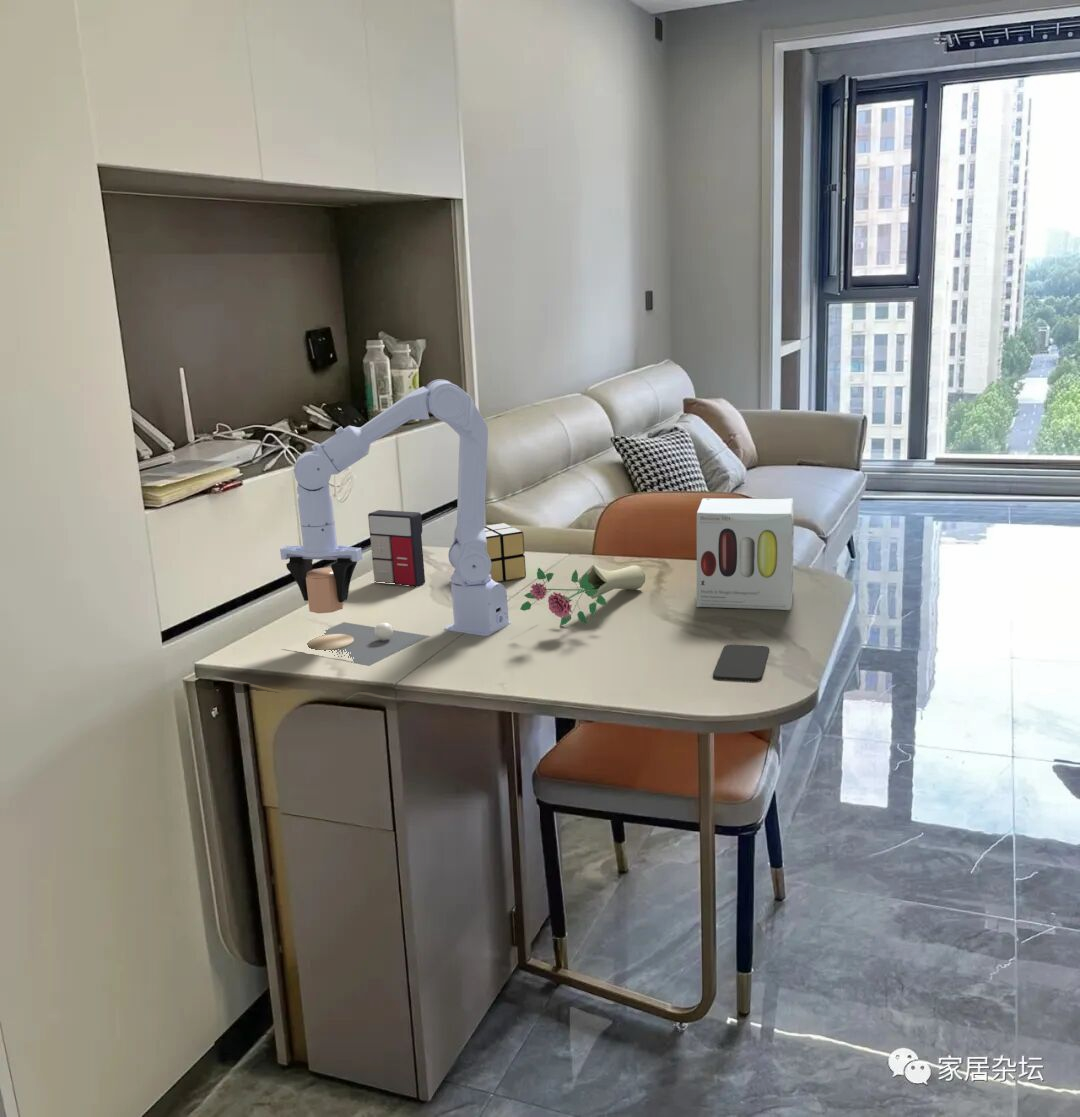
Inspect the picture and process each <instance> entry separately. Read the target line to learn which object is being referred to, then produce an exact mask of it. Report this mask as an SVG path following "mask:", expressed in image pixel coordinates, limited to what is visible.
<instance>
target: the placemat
mask: <svg viewBox="0 0 1080 1117" xmlns="http://www.w3.org/2000/svg"><path fill="white" fill-rule="evenodd" d="M375 627H376V626H371V625H370V626H369V625H365V624H358V623H351V622H344V621H343V622H341V623H338V624H336V625H334V626H331V627H330V628H327V629H328V630H327V629H325V631H326V633H324V634H325V635H329V634H346V635H350V636H352V637H353V638H354V642H353V643H352V644H351V645H349V646H347V647H344V648H341V649H339V650H338V649H336V650H337V652H339V651H340V650H341V652H342V654H343V650H344V652H346V651H347V653H348V652H349V656H350V658H351V657H352V659H353V657H354V659H353V661H354V663H353V664H357V663H358V664H359V665H363V666H368V667H370V666H372V665H374V664H376V663H377V662H381V661H382V660H384V659H386V658H388V657H390V656H392V655H395V654H396V653H399V652H400V651H402V650H404V649H406V648H408V647H411V646H413V645H415V644H417V643H419V642H421V641H423V640H425V639H427V638H428V637H430V635H427V634H419V633H413V632H406V631H400V630H395V629H393V635H392V637H391V638H390V639H388V640H386V641H382V640H379V639H378V638H377V637H376V636H375ZM322 636H323V635H322ZM345 649H346V651H345ZM331 651H332V650H331ZM334 651H335V650H334ZM329 652H330V651H329ZM337 652H336V653H337ZM350 652H351V654H350ZM332 653H333V651H332ZM347 653H346V654H347ZM339 654H340V652H339ZM337 655H338V654H337ZM334 656H335V655H334ZM344 656H345V655H344ZM349 656H348V658H349ZM338 657H339V656H338ZM341 657H342V656H341Z"/></svg>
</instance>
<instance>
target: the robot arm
mask: <svg viewBox="0 0 1080 1117" xmlns="http://www.w3.org/2000/svg"><path fill="white" fill-rule="evenodd" d="M477 407H478V406H477V405H475V403H474V401H473V399H472V396H471V395H470V394H468V393H467V392H466V391H464V389H462V388H461V387H460V386H458V385H456V384H454V383H452V382H451V381H449V380H446V379H441V378H439V379H434V380H432V381H430V382H429V383H427V385H426V386H424V385H423V386H421V387H418V388H416V389H415V390H413V391H411V392H409V393H408V394H406V395H404V396H402V397H401V398H400V399H399V400H397V401H395V402H394V403H393V404H392V405H390V406H389V407H387V408H386V409H385V410H383V411H381V412H380V413H379V414H377V415H376V416H375V417H373V418H372V419H370V420H369V421H367V422H366V423H364V424H363V425H362V426H360V427H359V426H358V427H357V426H353V425H348V426H346V427H344V428H343V426H339V427H338V428H336V429H335V430H334V432H335V434H334V435H332V436H330V437H329V438H328V439H326V440H324V441H323V442H321V443H320V444H317V443H314V444H313V445H311V449H312V451H306V452H303V453H302V454H300V455H299V456H298V457H297V458H296V461H295V462H294V468H293V474H294V477H295V479H296V481H297V487H296V490H297V492H296V493H297V495H298V497H297V506H298V514H299V524H300V532H301V541H302V545H285V546H282V547H281V548H280V549H279V551H280V558H281V559H280V560H284V561H285V560H288V559H289V561H288V562H287V563H286V566H285V567H286V569H287V570H288V571H289V573H291V575H292V577H293V578H294V580H295V582H296V584H297V586H298V587H299V590H300V592H301V595H302V598H303V601H305V602H308V594H307V585H306V573H307V572H308V571H311V570H313V561H314V560H321V561H322V560H323V561H324V560H325V561H326V560H327V561H335V562H334V563H332V564H330V568H332V571H333V573H334V577H335V581H336V586H337V596H338V600H339V602H344V603H345V601H348V600H349V590H350V584H351V580H352V576H353V573H354V571H355V569H356V566H357V564H358V562H360V561H361V560H362V559H363V553H362V552H363V551H362V550H363V549H362V547H354V546H353V547H352V546H347V545H340V544H338V540H337V539H338V538H337V531H336V530H337V529H336V523H335V522H336V521H335V513H334V503H333V495H332V494H331V490H330V489H331V488H330V481H331V476H332V475H338V474H341V473H342V472H343V471H345V470H346V469H348V468H349V467H351V466H352V465H354V464H356V463H357V462H359V461H360V460H362V459H363V458H365V457H366V456H367V455H369V453H370V447H371V444H372V443H374V442H376V441H377V440H379V439H381V438H382V437H384V436H385V435H387V434H389V433H391V432H392V431H394V430H396V429H398V428H399V427H401V426H402V425H404V424H406V423H407V422H409V421H411V420H430V416H429V413H430V414H432V416H434V417H435V418H436V419H437V420H439V421H441V422H443V423H445V424H447V425H448V426H449V427H450V428H451V430H453V431H454V432H455V433H456V434H457V435H458V436H459V444H458V446H459V447H458V450H459V451H458V478H457V480H458V483H457V505H456V506H457V507H456V525H455V526H456V527H455V529H454V537H453V541H452V544H451V545H450V547H449V550H448V561H449V563H450V565H451V566H452V567H453V568H454V571H453V574H452V576H450V586H451V587H450V588H451V598H452V599H451V601H452V614H453V623H451V624H449V625H447V626H444V630H445V631H451V632H458V633H464V634H470V635H475V636H476V635H478V636H483V637H488V636H491V635H492V634H494V633H496V632H497V631H499V630H501V629H503V628H506V627H507V626H509V625H511V624H512V621H510V620H509V607H508V594H507V589H506V587H505V585H504V584H502V583H501V582H498V583H497V582H495V581H493V580H492V579H491V575H490V571H491V560H490V557H489V555H488V553H487V540H486V535H485V529H484V527H485V526H486V525H485V522H486V518H485V517H486V497H487V496H486V494H487V493H486V492H487V469H488V468H487V467H488V466H487V465H488V445H489V444H488V441H489V438H488V437H489V427H488V424H487V422H486V421H485V419H484V418H483V416H482V414H481V412H480V410H478V408H477Z"/></svg>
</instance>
